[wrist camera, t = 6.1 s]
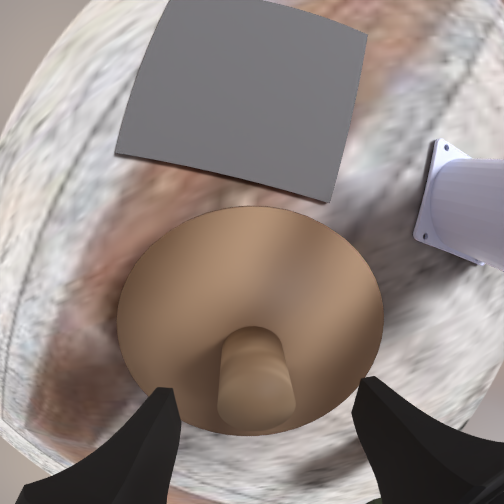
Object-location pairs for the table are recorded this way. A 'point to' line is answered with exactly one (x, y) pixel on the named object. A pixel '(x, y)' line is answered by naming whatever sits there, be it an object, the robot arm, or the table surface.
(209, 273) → the lid
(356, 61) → the mat
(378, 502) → the wine bottle
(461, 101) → the table surface
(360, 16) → the table surface
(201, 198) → the table surface
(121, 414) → the table surface
